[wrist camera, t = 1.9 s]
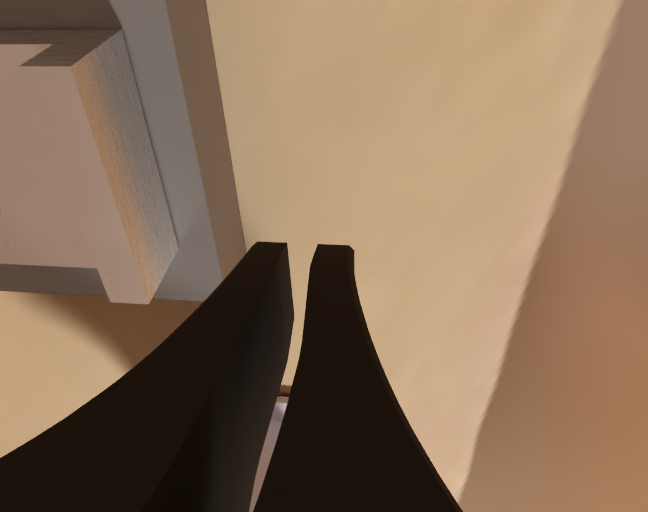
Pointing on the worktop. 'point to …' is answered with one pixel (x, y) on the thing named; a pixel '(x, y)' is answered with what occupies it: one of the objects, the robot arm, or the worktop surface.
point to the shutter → (80, 162)
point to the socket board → (158, 138)
